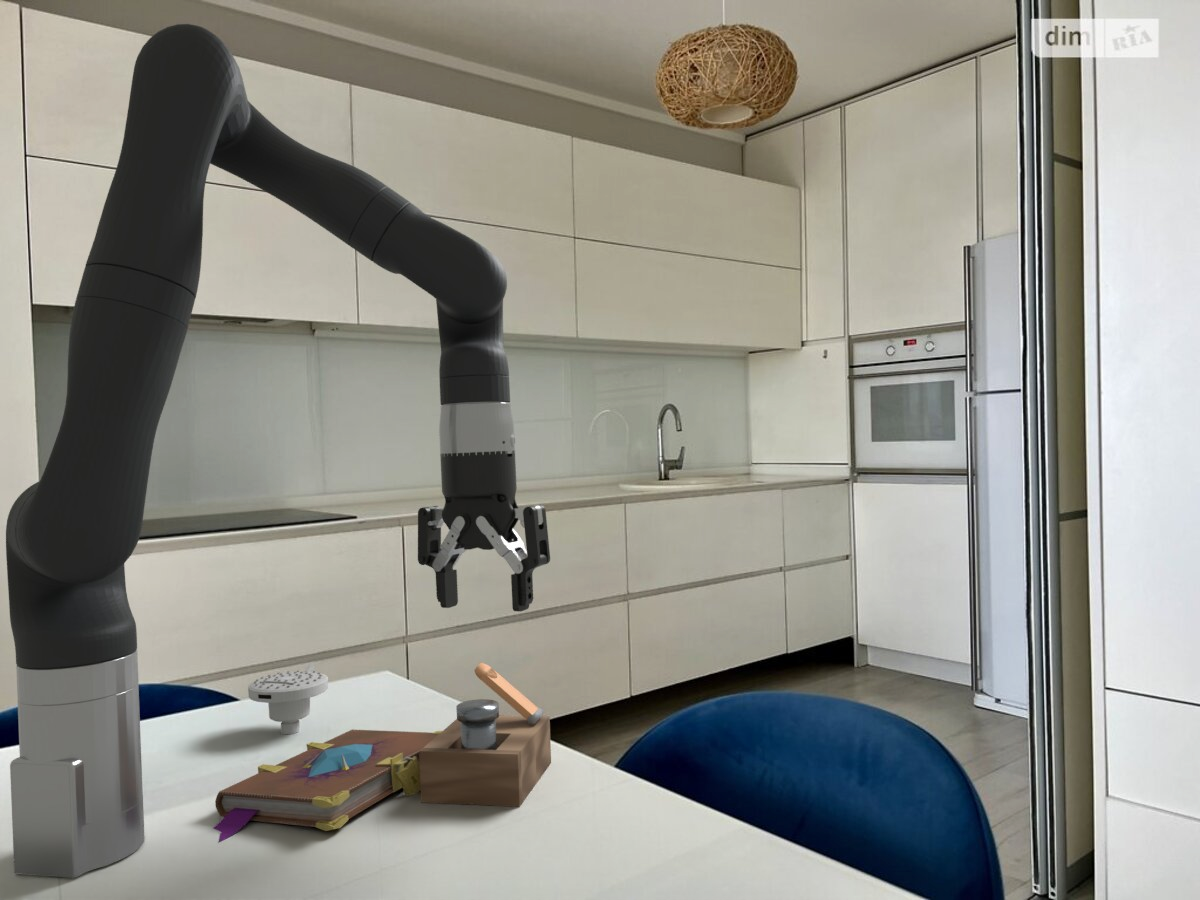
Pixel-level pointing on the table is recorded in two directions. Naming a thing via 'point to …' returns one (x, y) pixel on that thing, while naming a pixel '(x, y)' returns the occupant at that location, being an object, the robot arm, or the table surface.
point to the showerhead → (288, 695)
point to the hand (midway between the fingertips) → (484, 608)
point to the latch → (508, 693)
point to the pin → (478, 724)
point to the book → (326, 781)
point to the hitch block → (486, 764)
